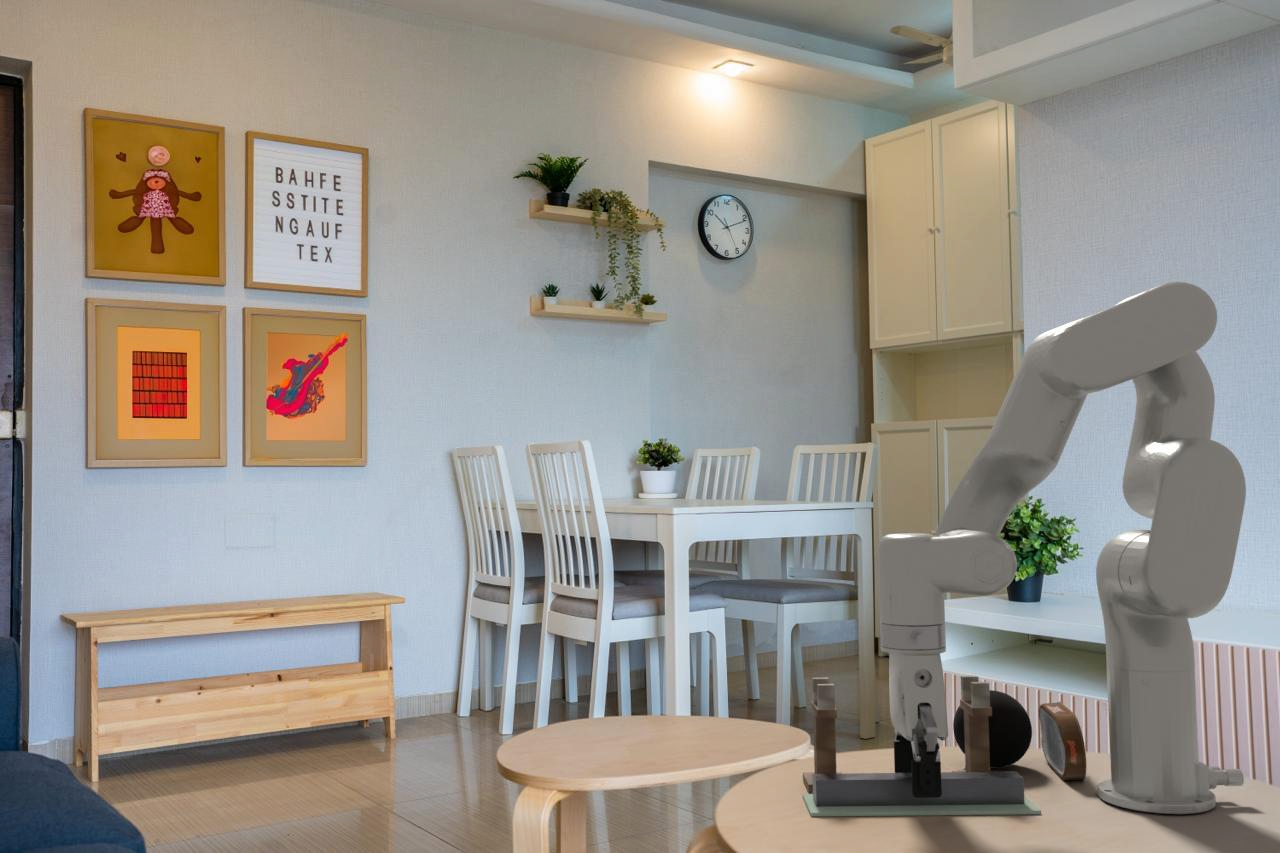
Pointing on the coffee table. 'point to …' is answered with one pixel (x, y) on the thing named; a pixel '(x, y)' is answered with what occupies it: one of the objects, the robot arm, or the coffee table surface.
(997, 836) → the coffee table surface
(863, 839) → the coffee table surface
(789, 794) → the coffee table surface
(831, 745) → the rack
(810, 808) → the mat
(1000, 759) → the decorative ball
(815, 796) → the rail
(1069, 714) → the tin
